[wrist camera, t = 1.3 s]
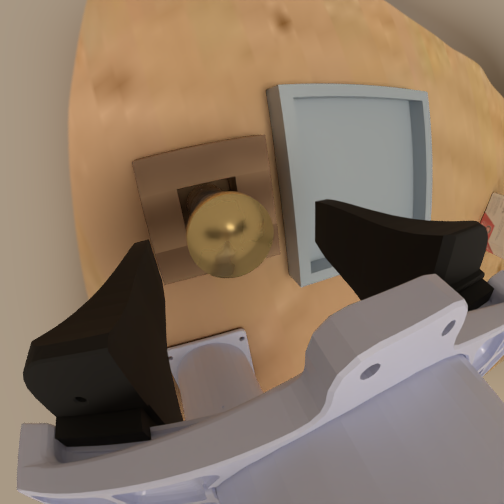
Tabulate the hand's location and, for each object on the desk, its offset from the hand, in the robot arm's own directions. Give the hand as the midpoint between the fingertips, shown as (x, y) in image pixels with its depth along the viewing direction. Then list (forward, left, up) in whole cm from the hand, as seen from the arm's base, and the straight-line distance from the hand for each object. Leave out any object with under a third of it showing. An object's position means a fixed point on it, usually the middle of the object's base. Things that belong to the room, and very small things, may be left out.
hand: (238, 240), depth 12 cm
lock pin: (-1, 0, -11) cm, 11 cm away
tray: (-1, -14, -11) cm, 18 cm away
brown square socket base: (-1, 0, -11) cm, 11 cm away
